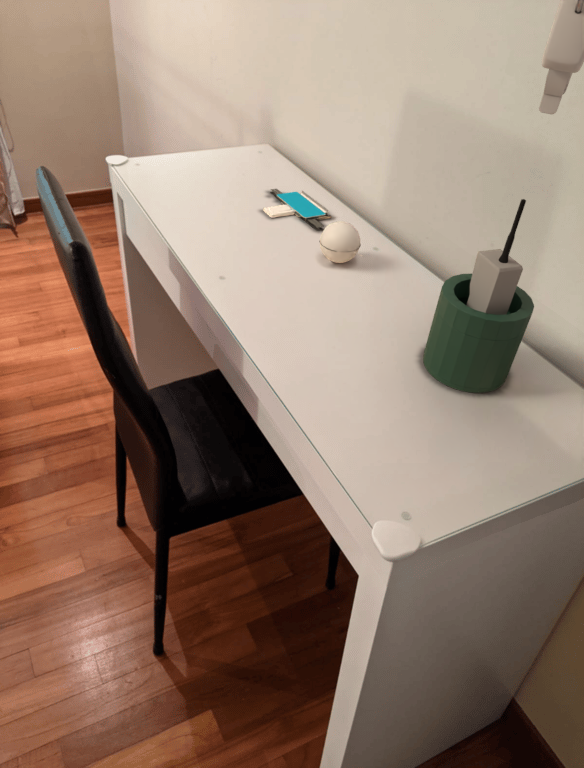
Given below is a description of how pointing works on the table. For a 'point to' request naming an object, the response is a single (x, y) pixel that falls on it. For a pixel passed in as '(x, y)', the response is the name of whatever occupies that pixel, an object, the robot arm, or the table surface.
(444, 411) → the table surface
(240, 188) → the table surface
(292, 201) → the phone stand
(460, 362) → the green hollow cylinder
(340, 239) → the cream domed seamed part
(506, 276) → the vintage mobile phone
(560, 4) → the robot arm
